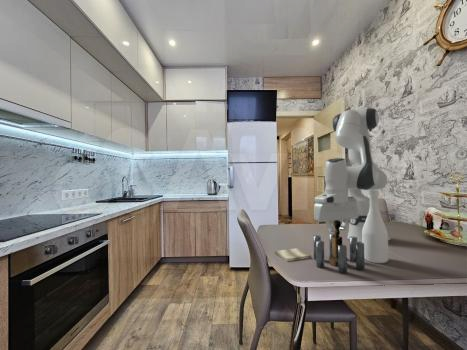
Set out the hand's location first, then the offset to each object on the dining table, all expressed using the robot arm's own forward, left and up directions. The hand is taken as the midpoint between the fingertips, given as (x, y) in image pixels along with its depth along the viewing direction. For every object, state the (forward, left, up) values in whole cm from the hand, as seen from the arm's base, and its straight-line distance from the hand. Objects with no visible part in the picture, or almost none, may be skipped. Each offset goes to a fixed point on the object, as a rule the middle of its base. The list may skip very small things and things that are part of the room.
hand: (337, 230), depth 97 cm
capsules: (0, 0, -14) cm, 14 cm away
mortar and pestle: (0, 0, -14) cm, 14 cm away
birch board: (+12, -15, -14) cm, 24 cm away
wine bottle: (-18, +2, -14) cm, 23 cm away
